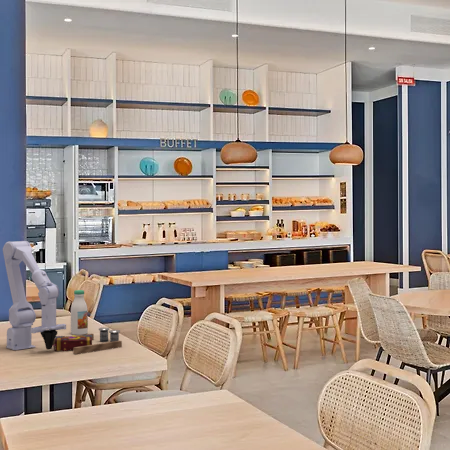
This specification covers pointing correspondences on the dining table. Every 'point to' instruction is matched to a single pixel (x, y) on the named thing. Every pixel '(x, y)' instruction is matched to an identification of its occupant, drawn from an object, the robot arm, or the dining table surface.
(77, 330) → the milk bottle
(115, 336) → the boss posts
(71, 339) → the decorative book
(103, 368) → the dining table surface
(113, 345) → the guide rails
